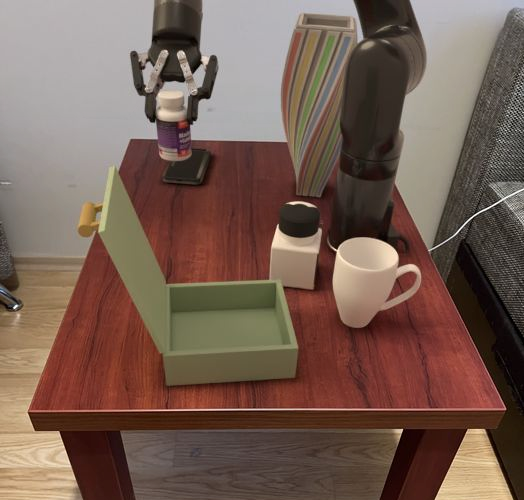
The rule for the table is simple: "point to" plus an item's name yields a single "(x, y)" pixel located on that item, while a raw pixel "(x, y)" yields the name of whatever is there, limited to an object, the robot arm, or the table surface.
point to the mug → (367, 279)
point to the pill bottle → (173, 126)
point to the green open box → (228, 332)
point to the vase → (315, 96)
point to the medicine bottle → (296, 246)
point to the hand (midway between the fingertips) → (170, 121)
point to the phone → (188, 168)
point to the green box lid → (129, 254)
